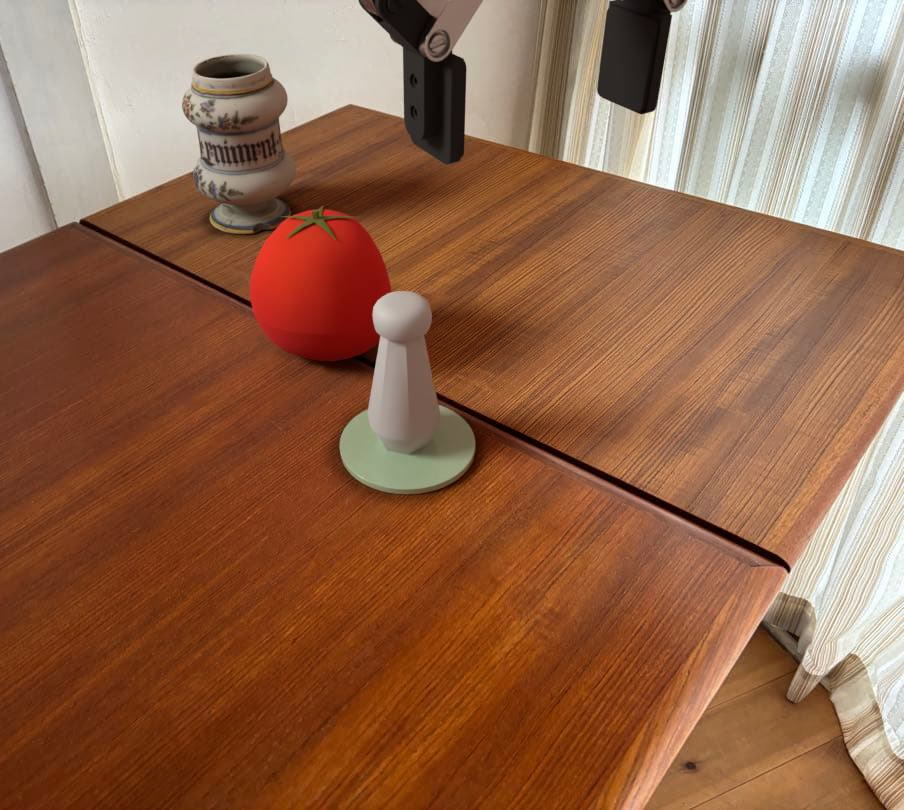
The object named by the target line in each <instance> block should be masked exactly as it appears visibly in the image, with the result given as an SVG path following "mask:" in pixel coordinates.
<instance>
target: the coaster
mask: <svg viewBox="0 0 904 810" xmlns="http://www.w3.org/2000/svg"><path fill="white" fill-rule="evenodd" d="M438 405H439V410H440V414H441V417H440V422H439V424H438V427H437V429H436V431H435V433H434V435H433V437H432V438H431V440H430V442H429V444H428V445H427V446H426V447H424V448H422V449H420V450H417V451H415V452H413V453H411V454H409V455H408V454H403V453H398V452H392V451H387V450H386V448H385V446H384V444H383V443H382V442H381V440H380V439H379V438H378V437H377V436H376V434H375V433H374V432H373V431H372V429H371V427H370V423H369V419H368V414H367V412H368V408H366V409H365V410H363V411H361V412H360V413H358V414H357V415H355V416H354V417H352V419H351V420H350V421H349V422H348V423H347V425H346V426H345V427H344V429H343V431H342V433H341V435H340V439H339V454H340V459H341V462H342V464H343V466H344V467H345V469H346V470H347V472H348V473H349V474H350V475H351V476H352V477H353V478H354V479H355V480H357V481H358V482H359V483H361V484H363V485H364V486H367V487H369V488H371V489H374V490H377V491H380V492H384V493H387V494H395V495H419V494H426V493H431V492H435V491H437V490H441V489H443V488H445V487H447V486H450V485H451V484H453V483H455V482H456V481H458V480H459V479H460V478H461V477H462V476H464V475H465V474H466V472H467V471H468V470H469V469H470V467H471V466H472V464H473V462H474V460H475V455H476V444H477V443H476V437H475V434H474V431H473V429H472V427H471V426H470V425H469V423H468V422H467V421H466V420H465V419H464V418H463V417H462V416H461V415H459V414H458V413H456V411H454V410H452V409H450V408H448V407H446V406H444V405H441V404H438Z"/></svg>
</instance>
